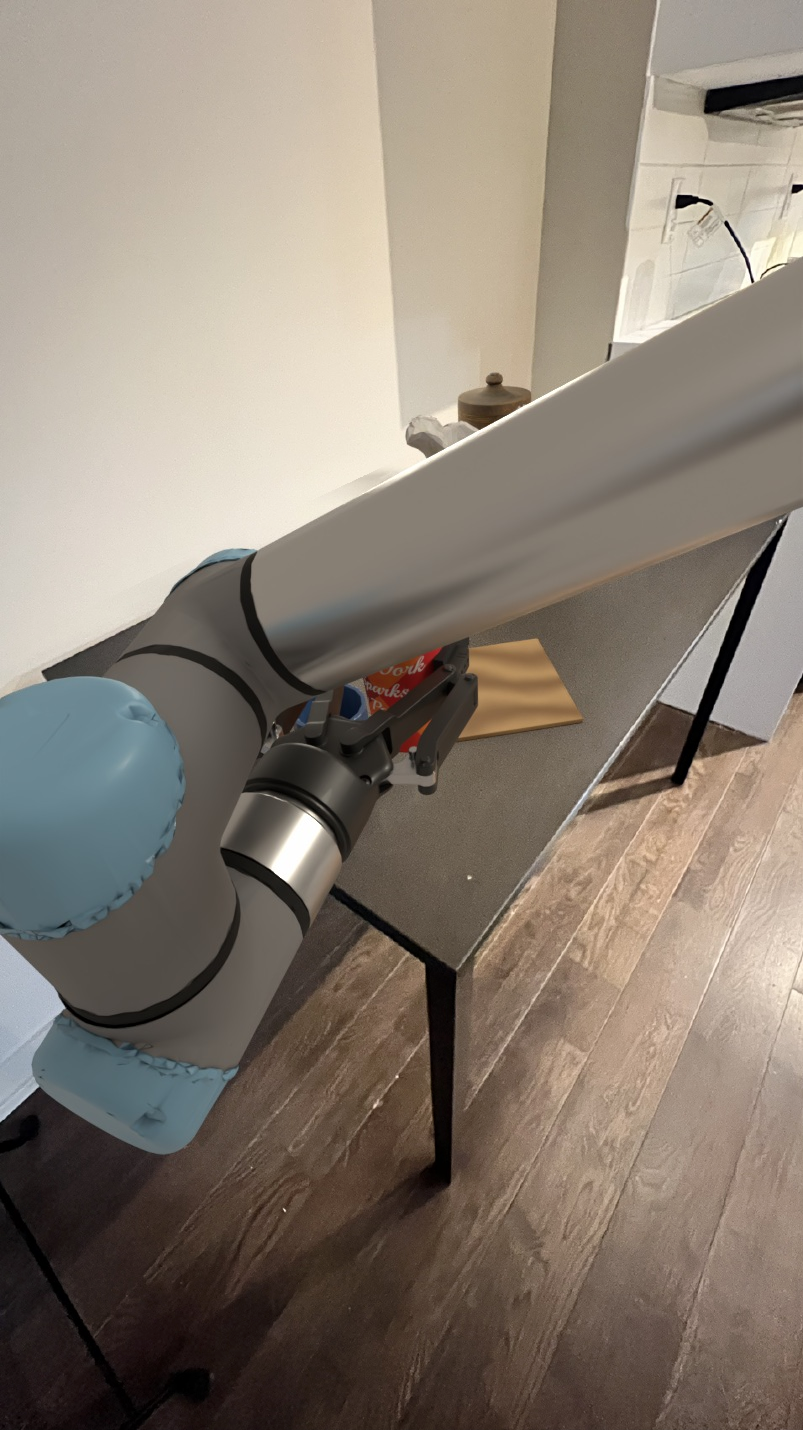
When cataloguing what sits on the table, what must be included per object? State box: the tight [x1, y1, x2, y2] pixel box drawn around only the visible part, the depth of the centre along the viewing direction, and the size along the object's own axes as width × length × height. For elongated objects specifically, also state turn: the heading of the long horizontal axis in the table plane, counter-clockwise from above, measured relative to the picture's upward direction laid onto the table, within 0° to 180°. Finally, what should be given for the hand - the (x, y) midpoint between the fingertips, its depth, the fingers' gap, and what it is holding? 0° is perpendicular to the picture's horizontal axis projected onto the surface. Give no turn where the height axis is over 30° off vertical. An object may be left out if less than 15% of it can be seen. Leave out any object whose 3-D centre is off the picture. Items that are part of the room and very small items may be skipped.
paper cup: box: [362, 647, 442, 754], centre depth 48 cm, size 8×8×14 cm
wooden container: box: [457, 372, 532, 430], centre depth 128 cm, size 15×15×22 cm
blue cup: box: [293, 683, 369, 731], centre depth 69 cm, size 8×8×9 cm
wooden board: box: [456, 638, 584, 743], centre depth 80 cm, size 18×18×1 cm
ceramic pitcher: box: [404, 404, 528, 460], centre depth 100 cm, size 22×20×25 cm
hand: (422, 624), depth 52 cm, fingers closed on paper cup, 6 cm apart
